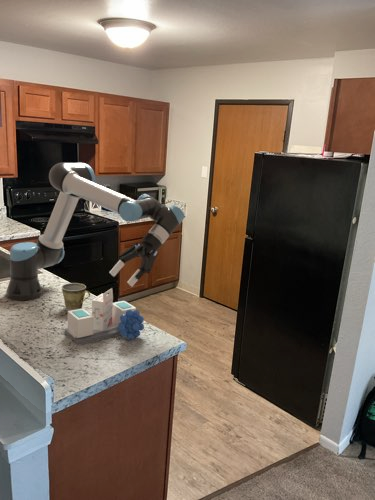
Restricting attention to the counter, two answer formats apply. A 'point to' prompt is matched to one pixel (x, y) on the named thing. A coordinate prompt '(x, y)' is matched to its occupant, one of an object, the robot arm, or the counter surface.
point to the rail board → (83, 324)
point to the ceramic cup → (74, 295)
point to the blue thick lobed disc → (131, 324)
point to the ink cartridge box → (102, 310)
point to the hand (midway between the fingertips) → (120, 279)
